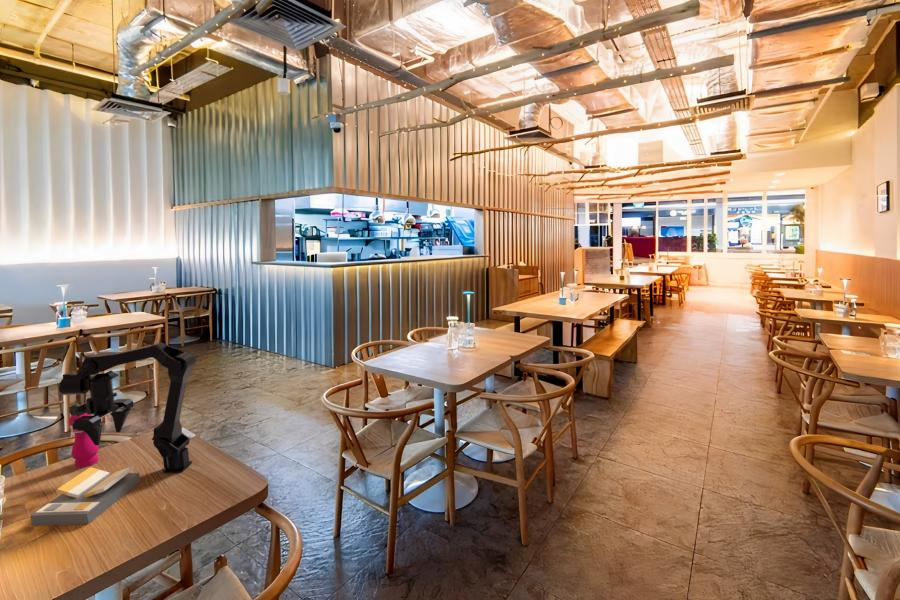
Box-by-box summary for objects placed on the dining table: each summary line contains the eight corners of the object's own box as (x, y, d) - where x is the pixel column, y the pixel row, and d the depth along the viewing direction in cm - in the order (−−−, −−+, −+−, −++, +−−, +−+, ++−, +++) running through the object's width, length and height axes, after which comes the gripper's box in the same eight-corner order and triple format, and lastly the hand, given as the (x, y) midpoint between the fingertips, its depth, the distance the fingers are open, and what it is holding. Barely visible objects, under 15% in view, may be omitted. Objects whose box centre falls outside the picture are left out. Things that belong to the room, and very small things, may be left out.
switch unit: (140, 481, 138) (138, 470, 137) (88, 523, 118) (86, 511, 117) (92, 483, 138) (90, 472, 137) (32, 525, 117) (29, 513, 117)
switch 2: (134, 468, 136) (132, 465, 136) (104, 490, 124) (103, 487, 124) (116, 475, 136) (115, 472, 136) (85, 497, 125) (84, 494, 124)
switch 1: (109, 475, 136) (109, 472, 136) (77, 498, 124) (78, 495, 124) (89, 469, 136) (90, 467, 136) (56, 492, 124) (56, 489, 124)
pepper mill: (84, 469, 146) (76, 412, 143) (67, 467, 148) (58, 411, 145) (105, 458, 153) (98, 404, 150) (89, 457, 155) (81, 403, 152)
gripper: (98, 383, 149) (105, 426, 151) (50, 404, 130) (58, 453, 133) (131, 382, 149) (137, 425, 151) (88, 403, 130) (95, 452, 133)
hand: (108, 438), depth 142 cm, fingers open, 9 cm apart
